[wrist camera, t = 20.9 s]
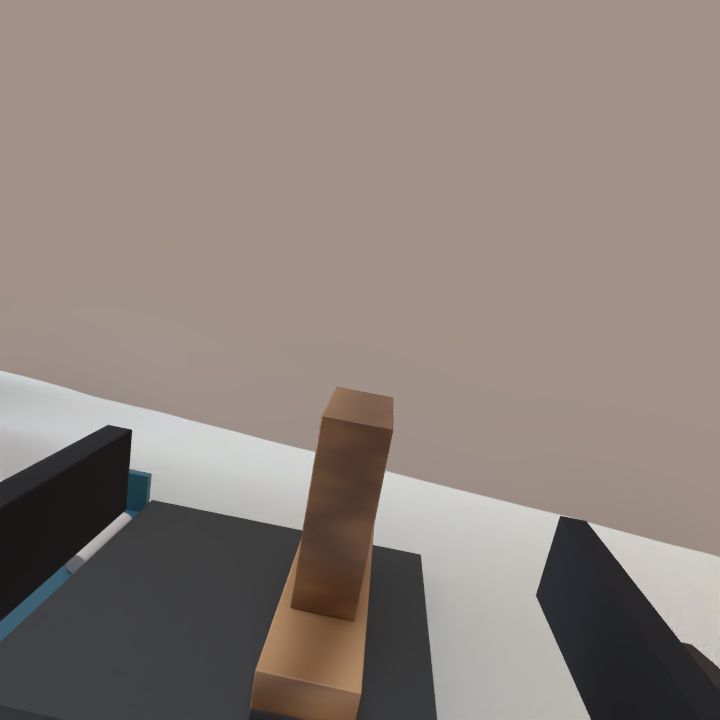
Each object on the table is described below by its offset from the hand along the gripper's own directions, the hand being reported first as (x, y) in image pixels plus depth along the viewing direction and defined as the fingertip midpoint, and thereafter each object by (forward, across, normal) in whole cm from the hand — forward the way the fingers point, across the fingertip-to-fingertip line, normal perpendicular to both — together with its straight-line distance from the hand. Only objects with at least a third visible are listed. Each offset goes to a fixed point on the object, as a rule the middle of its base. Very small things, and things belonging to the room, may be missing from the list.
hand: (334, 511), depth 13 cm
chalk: (+12, -15, -12) cm, 22 cm away
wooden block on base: (+9, 0, -12) cm, 15 cm away
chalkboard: (+9, -4, -13) cm, 16 cm away
